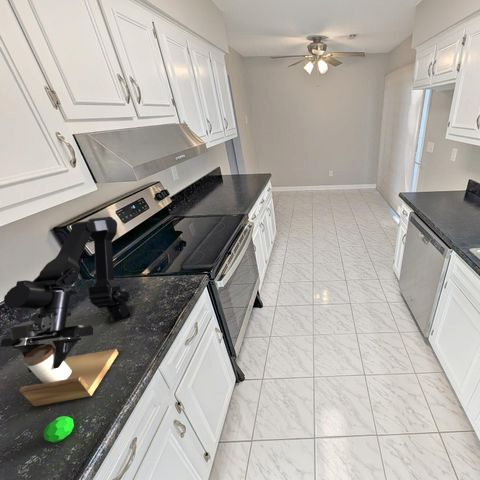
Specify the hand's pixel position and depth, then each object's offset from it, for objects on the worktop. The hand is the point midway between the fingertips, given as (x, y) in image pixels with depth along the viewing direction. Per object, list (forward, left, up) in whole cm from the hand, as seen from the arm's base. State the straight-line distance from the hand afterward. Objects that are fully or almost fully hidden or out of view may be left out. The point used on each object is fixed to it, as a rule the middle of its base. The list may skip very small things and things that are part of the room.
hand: (43, 370), depth 67 cm
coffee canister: (-1, +1, -5) cm, 5 cm away
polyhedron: (+15, +4, -9) cm, 18 cm away
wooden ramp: (-3, +4, -9) cm, 10 cm away
